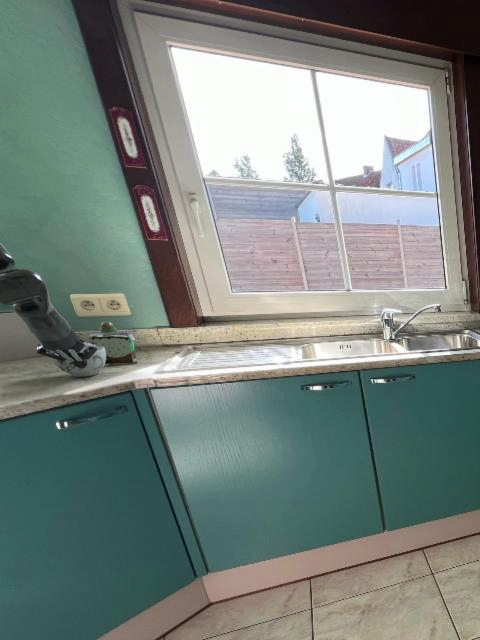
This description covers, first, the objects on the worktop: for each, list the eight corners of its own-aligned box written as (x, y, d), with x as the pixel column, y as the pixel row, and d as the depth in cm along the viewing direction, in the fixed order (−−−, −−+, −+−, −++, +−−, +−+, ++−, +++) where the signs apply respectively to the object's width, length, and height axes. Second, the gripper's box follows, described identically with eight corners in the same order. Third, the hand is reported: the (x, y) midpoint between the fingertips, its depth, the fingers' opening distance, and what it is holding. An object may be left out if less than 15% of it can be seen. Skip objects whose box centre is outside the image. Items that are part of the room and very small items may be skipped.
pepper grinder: (113, 357, 178) (102, 322, 173) (105, 356, 179) (93, 321, 174) (129, 355, 182) (118, 321, 177) (120, 354, 183) (109, 320, 179)
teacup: (45, 378, 148) (34, 351, 145) (92, 369, 160) (83, 345, 157) (84, 381, 146) (74, 354, 143) (129, 372, 157) (121, 347, 154)
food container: (151, 360, 175) (142, 332, 171) (139, 364, 169) (129, 334, 165) (111, 360, 173) (101, 331, 169) (97, 364, 167) (87, 334, 163)
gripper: (84, 317, 137) (111, 353, 152) (16, 318, 131) (51, 356, 145) (85, 339, 135) (112, 374, 149) (16, 341, 129) (51, 377, 143)
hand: (82, 365), depth 147 cm, fingers closed
